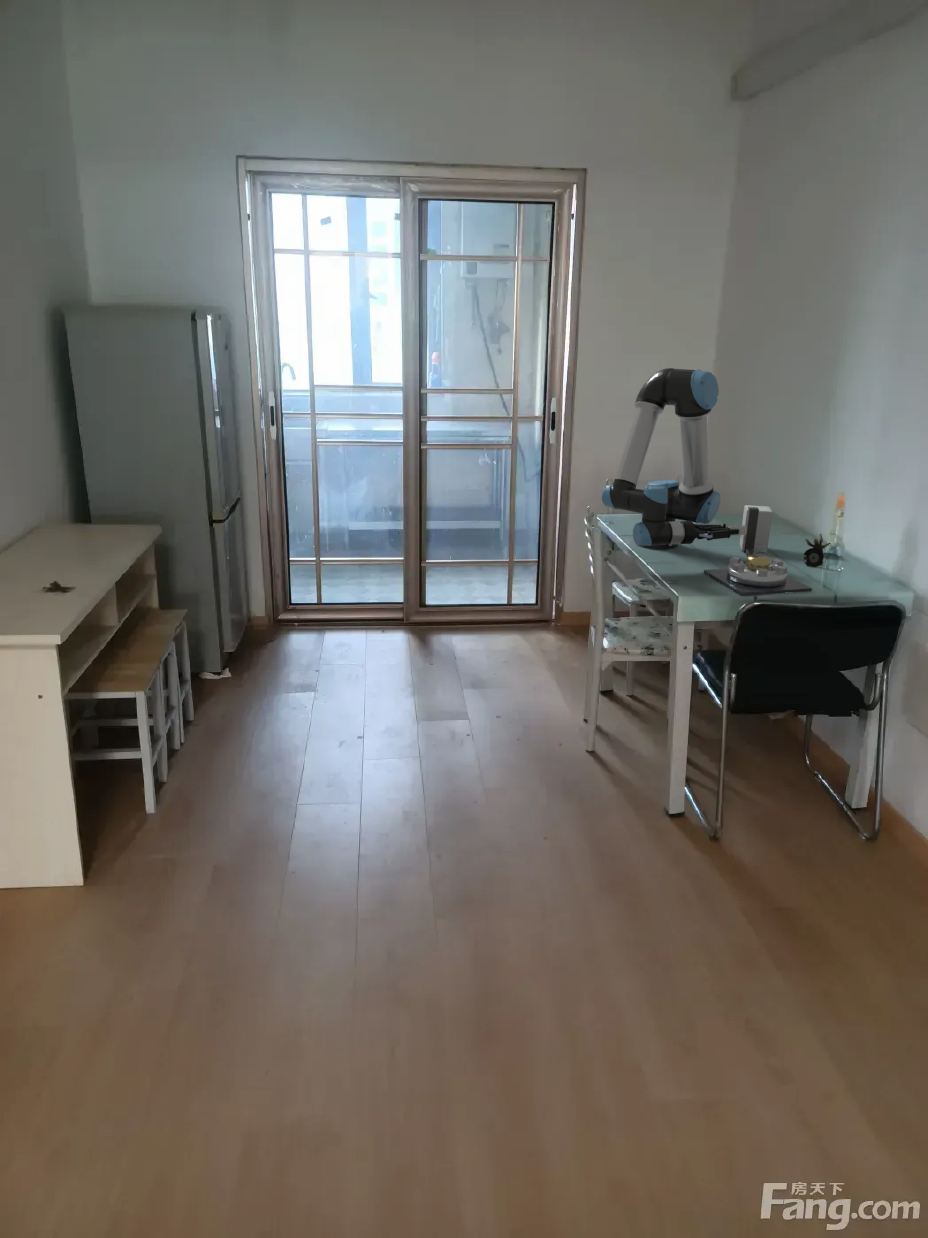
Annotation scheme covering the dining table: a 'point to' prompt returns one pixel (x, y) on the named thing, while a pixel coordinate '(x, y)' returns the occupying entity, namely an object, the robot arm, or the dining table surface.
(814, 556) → the artificial flower
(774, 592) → the flange plate
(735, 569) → the round grey fixture
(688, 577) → the dining table surface
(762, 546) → the supplement box
